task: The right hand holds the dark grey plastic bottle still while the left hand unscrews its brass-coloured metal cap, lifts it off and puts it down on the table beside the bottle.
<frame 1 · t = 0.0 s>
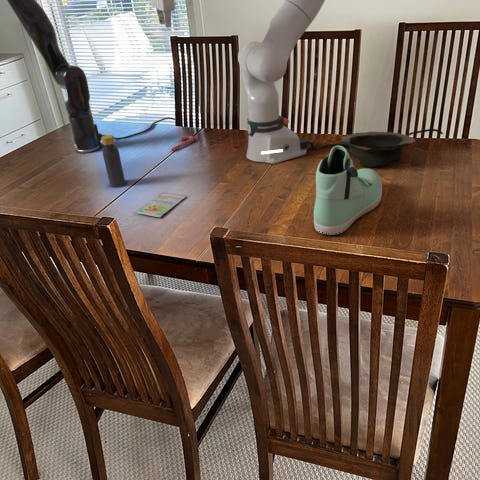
right hand: (165, 25, 147), 48 cm above the table, tool pointing down, fingers open, 8 cm apart
cap: (107, 137, 157), point 17 cm above the table, screwed on, not yet turned
stone bowl: (374, 158, 169), on the table
sneaker: (348, 208, 139), on the table
bottle: (117, 184, 166), on the table
candy cane: (181, 145, 194), on the table
baking ingredient package: (161, 205, 149), on the table
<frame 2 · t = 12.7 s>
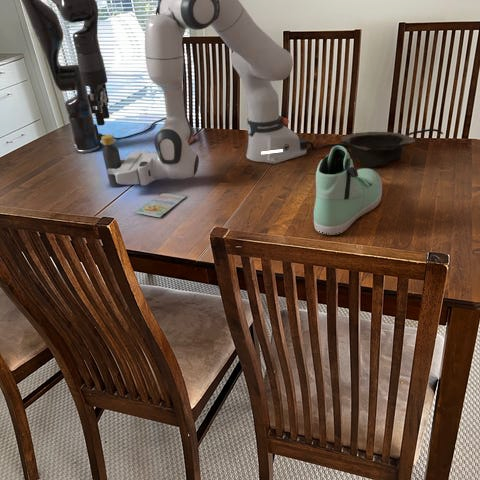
left hand: (103, 121, 154), 22 cm above the table, tool pointing down, fingers open, 6 cm apart
right hand: (111, 167, 162), 6 cm above the table, tool horizontal, fingers closed on bottle, 5 cm apart
bottle: (117, 184, 166), on the table, touching right hand
everything else where it was.
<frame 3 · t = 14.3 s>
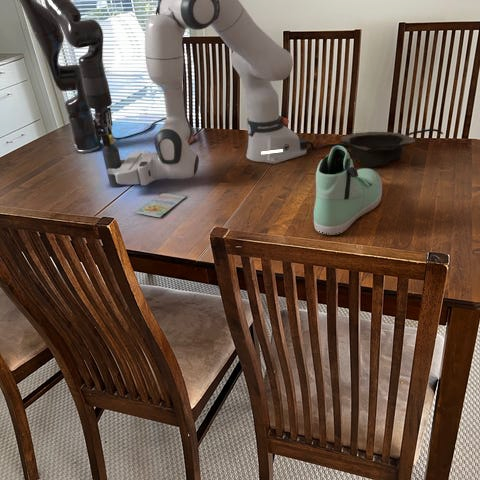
left hand: (108, 143, 158), 15 cm above the table, tool pointing down, fingers closed on cap, 3 cm apart
right hand: (111, 167, 162), 6 cm above the table, tool horizontal, fingers closed on bottle, 5 cm apart
cap: (107, 137, 157), point 17 cm above the table, screwed on, not yet turned, touching left hand
bottle: (117, 184, 166), on the table, touching right hand
everything else where it was.
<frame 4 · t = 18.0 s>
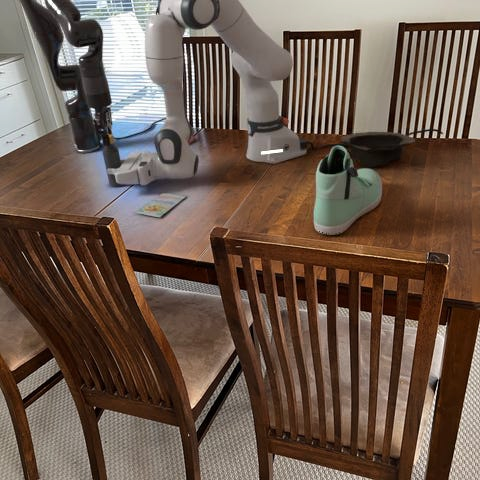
left hand: (108, 142, 158), 15 cm above the table, tool pointing down, fingers closed on cap, 3 cm apart
right hand: (111, 167, 162), 6 cm above the table, tool horizontal, fingers closed on bottle, 5 cm apart
cap: (107, 137, 157), point 17 cm above the table, turned 100° so far, risen 0.1 cm, still on its thread, touching left hand
bottle: (117, 184, 166), on the table, touching right hand
everything else where it was.
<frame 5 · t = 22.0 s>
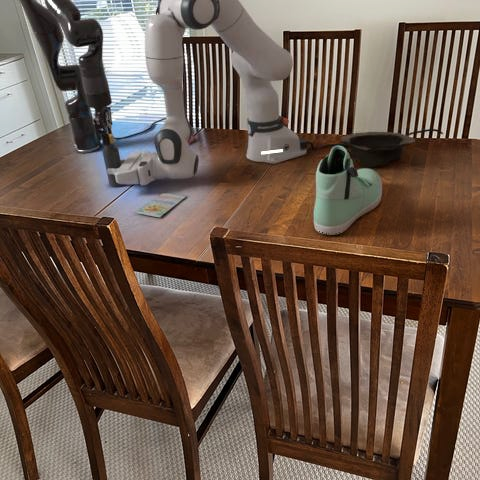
left hand: (108, 142, 158), 15 cm above the table, tool pointing down, fingers closed on cap, 3 cm apart
right hand: (111, 167, 162), 6 cm above the table, tool horizontal, fingers closed on bottle, 5 cm apart
cap: (107, 136, 157), point 17 cm above the table, turned 201° so far, risen 0.2 cm, still on its thread, touching left hand
bottle: (117, 183, 166), on the table, touching right hand
everything else where it was.
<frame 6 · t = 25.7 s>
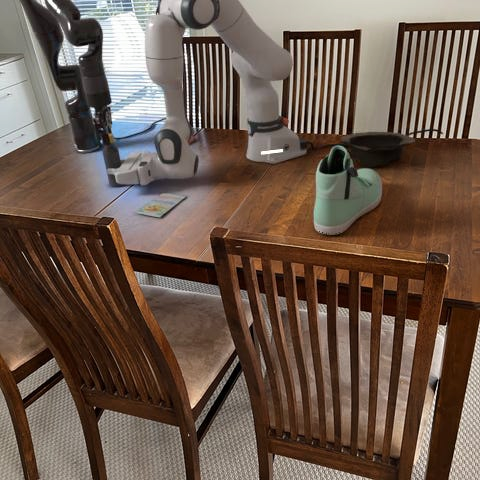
left hand: (108, 142, 158), 15 cm above the table, tool pointing down, fingers closed on cap, 3 cm apart
right hand: (111, 167, 162), 6 cm above the table, tool horizontal, fingers closed on bottle, 5 cm apart
cap: (107, 136, 157), point 17 cm above the table, turned 301° so far, risen 0.4 cm, still on its thread, touching left hand
bottle: (117, 184, 166), on the table, touching right hand
everything else where it was.
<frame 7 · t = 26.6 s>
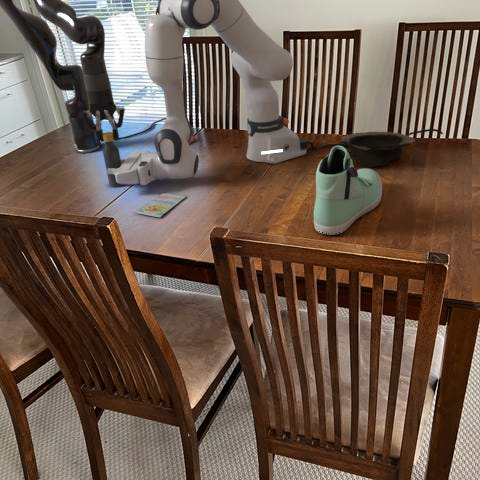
left hand: (109, 140, 158), 16 cm above the table, tool pointing down, fingers closed on cap, 3 cm apart
right hand: (111, 166, 162), 6 cm above the table, tool horizontal, fingers closed on bottle, 5 cm apart
cap: (108, 134, 157), point 18 cm above the table, off its thread, touching left hand
bottle: (117, 183, 166), on the table, touching right hand
everything else where it was.
when the left hand's fingers open (2 cm above the table, at t = 32.7 s): cap drops 2 cm, point 2 cm above the table.
when the right hand's fingers open (6 cm above the table, at t = 33.9 s): bottle stays where it is, on the table.
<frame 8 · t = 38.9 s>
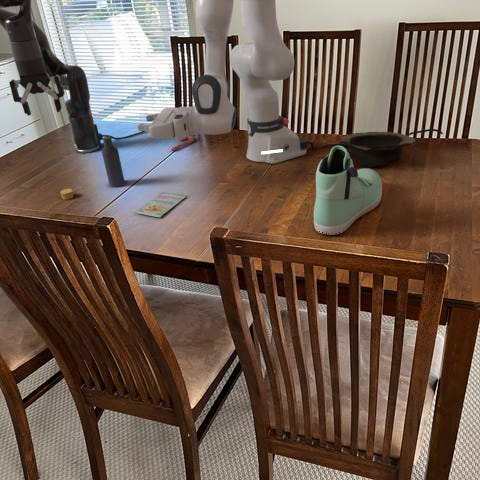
left hand: (44, 113, 145), 28 cm above the table, tool pointing down, fingers open, 8 cm apart
right hand: (142, 122, 153), 21 cm above the table, tool horizontal, fingers open, 8 cm apart
cap: (66, 191, 158), point 2 cm above the table, off its thread
bottle: (117, 184, 166), on the table
everything else where it was.
at the end: cap came off its thread; cap point 1.9 cm above the table; the left hand is holding nothing; the right hand is holding nothing; bottle tilted 0°; bottle moved 0.2 cm from its start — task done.
